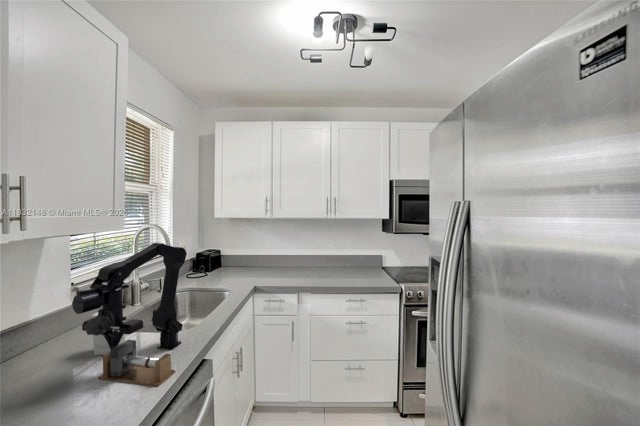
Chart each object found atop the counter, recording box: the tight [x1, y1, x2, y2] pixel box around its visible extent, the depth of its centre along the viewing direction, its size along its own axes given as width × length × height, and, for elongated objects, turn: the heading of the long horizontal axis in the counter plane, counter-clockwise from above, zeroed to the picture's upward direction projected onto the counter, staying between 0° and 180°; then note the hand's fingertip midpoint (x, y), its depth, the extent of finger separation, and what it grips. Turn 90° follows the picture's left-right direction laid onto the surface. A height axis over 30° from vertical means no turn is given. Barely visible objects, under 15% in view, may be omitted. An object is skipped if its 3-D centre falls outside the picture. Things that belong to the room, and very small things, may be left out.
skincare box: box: [91, 311, 126, 356], centre depth 116 cm, size 8×7×16 cm
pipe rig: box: [97, 352, 176, 388], centre depth 99 cm, size 22×8×7 cm, turn 79°
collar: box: [110, 339, 137, 376], centre depth 100 cm, size 3×7×8 cm, turn 169°
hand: (113, 350), depth 101 cm, fingers closed
